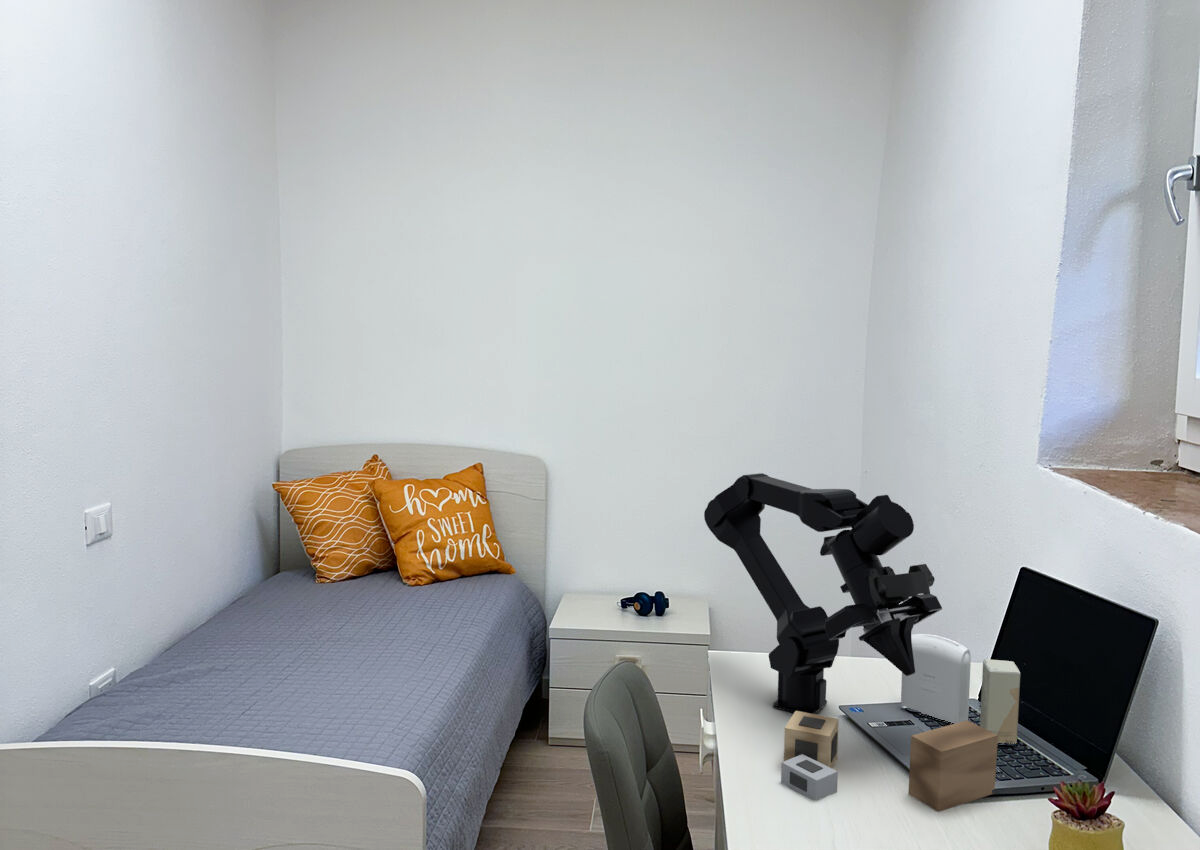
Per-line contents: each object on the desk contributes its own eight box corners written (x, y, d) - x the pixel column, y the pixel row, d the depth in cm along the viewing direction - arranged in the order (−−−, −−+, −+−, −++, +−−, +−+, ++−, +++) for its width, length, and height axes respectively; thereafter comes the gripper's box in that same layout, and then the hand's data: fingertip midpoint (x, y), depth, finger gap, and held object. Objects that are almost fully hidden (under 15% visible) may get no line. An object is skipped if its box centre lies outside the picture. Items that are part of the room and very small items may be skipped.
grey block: (780, 784, 129) (780, 761, 129) (801, 775, 132) (802, 752, 132) (815, 803, 125) (816, 779, 124) (836, 793, 127) (837, 770, 127)
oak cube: (783, 770, 133) (784, 727, 132) (794, 751, 139) (795, 709, 138) (828, 779, 130) (830, 735, 130) (838, 760, 136) (840, 717, 135)
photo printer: (895, 709, 152) (899, 632, 151) (908, 701, 156) (912, 625, 154) (960, 729, 145) (965, 649, 144) (972, 720, 149) (977, 641, 147)
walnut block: (908, 794, 127) (911, 735, 126) (963, 777, 131) (967, 720, 130) (938, 812, 122) (941, 751, 121) (994, 794, 127) (998, 735, 126)
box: (1016, 748, 139) (1021, 673, 138) (984, 745, 140) (989, 671, 139) (1009, 732, 145) (1013, 660, 143) (978, 729, 145) (982, 657, 144)
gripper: (855, 548, 129) (908, 661, 122) (943, 539, 140) (996, 642, 133) (802, 585, 137) (849, 693, 130) (889, 574, 147) (937, 673, 140)
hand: (911, 674), depth 133 cm, fingers closed
